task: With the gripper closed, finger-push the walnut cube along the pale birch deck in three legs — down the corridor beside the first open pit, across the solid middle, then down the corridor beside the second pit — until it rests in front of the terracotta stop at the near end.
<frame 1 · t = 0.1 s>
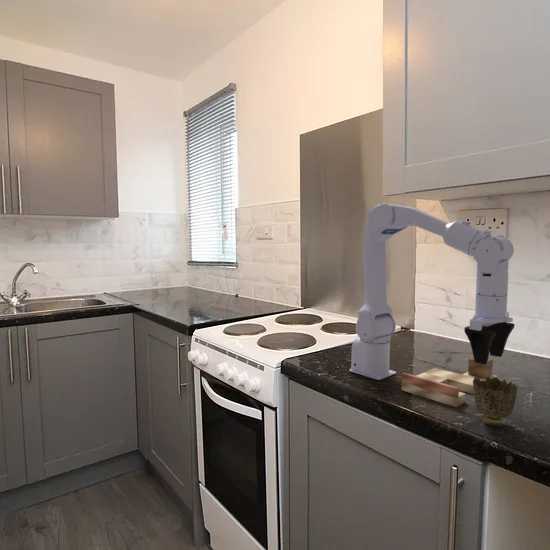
hand: (488, 359, 84), 10 cm above the counter, tool pointing down, fingers open, 7 cm apart
cup: (493, 424, 77), on the counter
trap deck: (451, 386, 96), on the counter
walnut cube: (480, 375, 98), point 2 cm above the counter, touching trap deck
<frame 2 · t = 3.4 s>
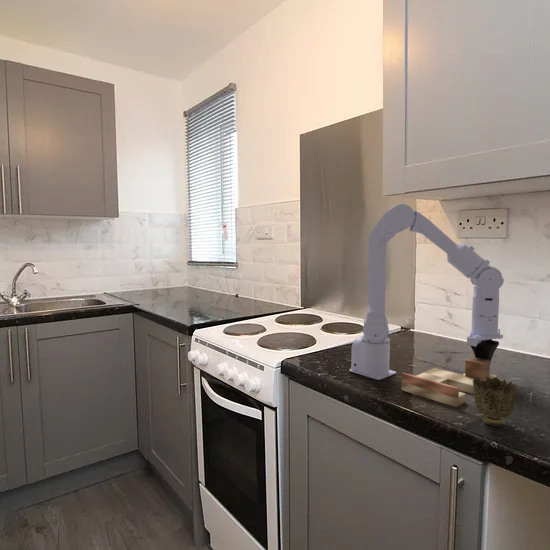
hand: (482, 369, 99), 3 cm above the counter, tool pointing down, fingers closed
walnut cube: (477, 376, 97), point 2 cm above the counter, touching gripper, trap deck
everything else where it was.
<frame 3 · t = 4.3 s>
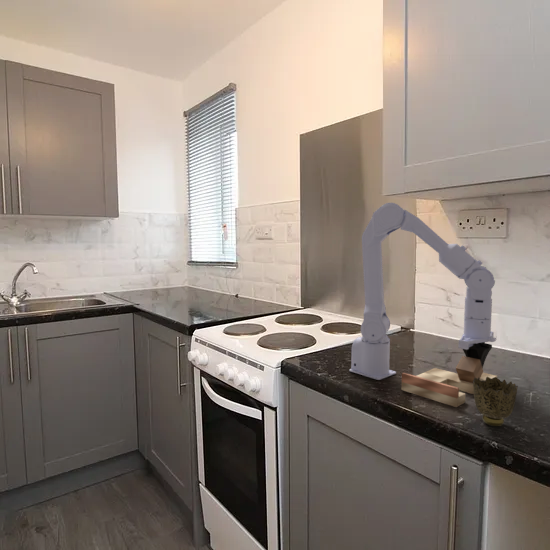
hand: (475, 373, 96), 3 cm above the counter, tool pointing down, fingers closed
walnut cube: (471, 375, 94), point 3 cm above the counter, tilted 34°, touching gripper, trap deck
everything else where it was.
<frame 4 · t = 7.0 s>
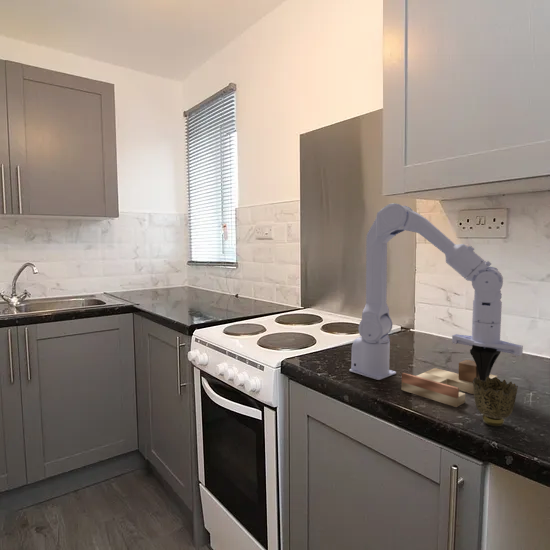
hand: (484, 379, 92), 3 cm above the counter, tool pointing down, fingers closed
walnut cube: (470, 379, 95), point 2 cm above the counter, touching gripper
everything else where it was.
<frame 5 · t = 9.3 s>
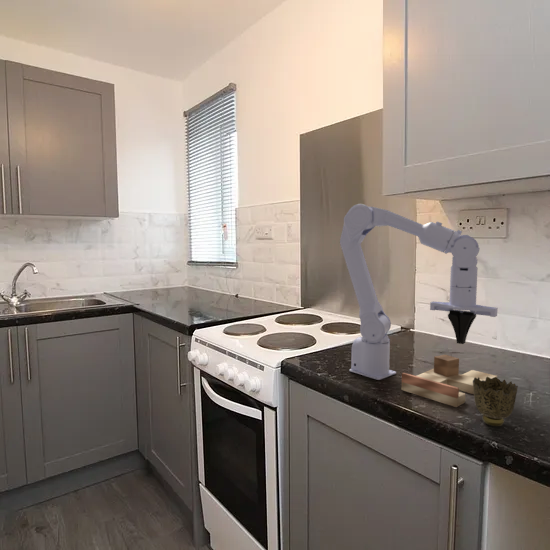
hand: (461, 342, 96), 10 cm above the counter, tool pointing down, fingers closed
walnut cube: (446, 373, 99), point 2 cm above the counter, touching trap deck
everything else where it was.
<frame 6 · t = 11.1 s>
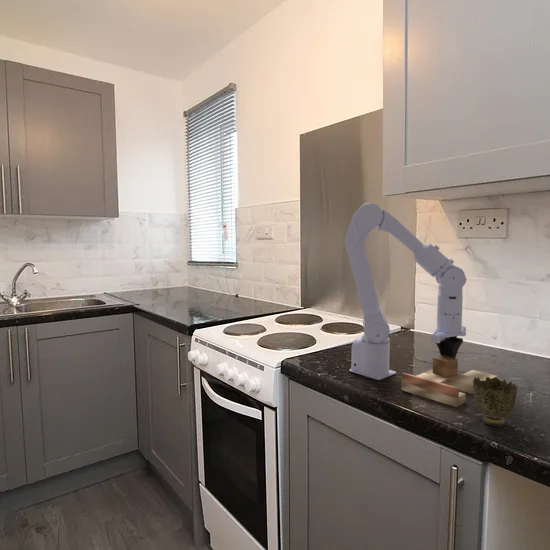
hand: (447, 366, 102), 3 cm above the counter, tool pointing down, fingers closed
walnut cube: (444, 374, 99), point 2 cm above the counter, touching gripper, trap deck
everything else where it was.
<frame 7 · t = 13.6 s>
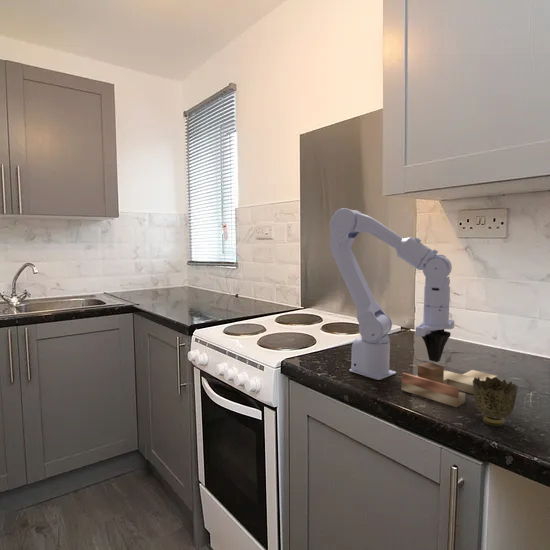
hand: (434, 360, 98), 6 cm above the counter, tool pointing down, fingers closed
walnut cube: (430, 382, 93), point 2 cm above the counter, touching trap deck
everything else where it was.
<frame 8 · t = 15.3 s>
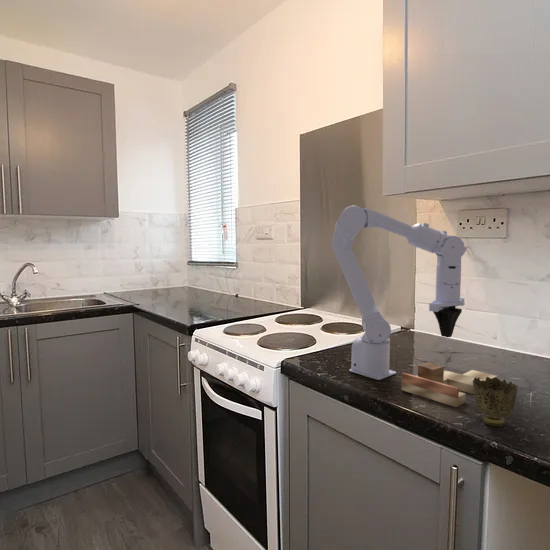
hand: (446, 336, 102), 10 cm above the counter, tool pointing down, fingers closed
nothing on the counter moved.
at the end: walnut cube 1.7 cm from the target spot on the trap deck, point 2.0 cm above the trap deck's base; walnut cube tilted 0° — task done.
